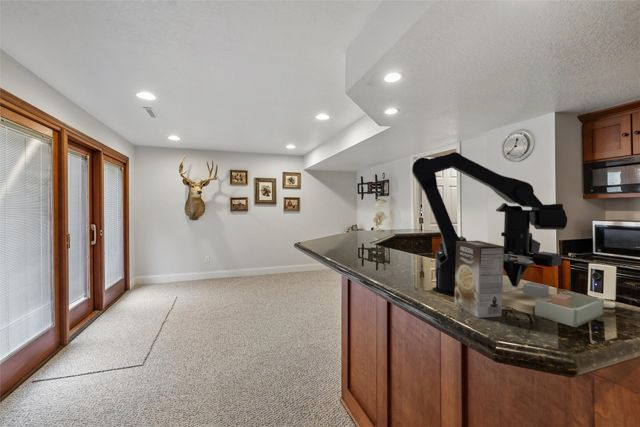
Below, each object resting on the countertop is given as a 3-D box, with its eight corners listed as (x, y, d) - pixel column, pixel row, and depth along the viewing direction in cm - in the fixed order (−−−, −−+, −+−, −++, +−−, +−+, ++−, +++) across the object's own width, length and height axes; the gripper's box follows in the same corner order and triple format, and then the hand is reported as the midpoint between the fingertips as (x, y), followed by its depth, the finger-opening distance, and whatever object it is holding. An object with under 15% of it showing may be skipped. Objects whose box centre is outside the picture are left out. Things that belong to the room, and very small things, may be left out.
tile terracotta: (551, 296, 68) (565, 299, 66) (558, 293, 70) (572, 296, 68) (551, 313, 68) (564, 317, 66) (558, 310, 70) (571, 313, 68)
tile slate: (523, 293, 78) (523, 284, 78) (531, 291, 80) (531, 282, 80) (540, 298, 74) (540, 288, 74) (548, 295, 76) (548, 285, 76)
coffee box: (452, 304, 75) (454, 240, 75) (475, 303, 76) (477, 240, 76) (477, 318, 66) (479, 246, 66) (503, 316, 67) (505, 245, 67)
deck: (493, 303, 76) (493, 295, 76) (522, 294, 83) (522, 287, 83) (532, 314, 69) (533, 306, 68) (561, 304, 76) (561, 296, 75)
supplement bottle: (459, 281, 97) (460, 244, 96) (437, 280, 98) (437, 244, 98) (454, 276, 103) (455, 241, 103) (433, 275, 105) (434, 241, 104)
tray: (534, 315, 68) (535, 300, 68) (563, 304, 75) (563, 291, 75) (576, 327, 62) (576, 310, 62) (603, 314, 69) (603, 299, 68)
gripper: (572, 230, 77) (570, 290, 77) (498, 225, 93) (497, 275, 93) (551, 232, 71) (549, 297, 72) (476, 226, 87) (475, 280, 88)
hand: (515, 286), depth 81 cm, fingers closed
